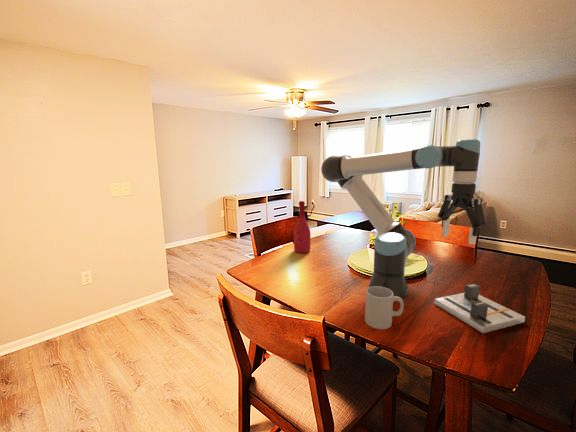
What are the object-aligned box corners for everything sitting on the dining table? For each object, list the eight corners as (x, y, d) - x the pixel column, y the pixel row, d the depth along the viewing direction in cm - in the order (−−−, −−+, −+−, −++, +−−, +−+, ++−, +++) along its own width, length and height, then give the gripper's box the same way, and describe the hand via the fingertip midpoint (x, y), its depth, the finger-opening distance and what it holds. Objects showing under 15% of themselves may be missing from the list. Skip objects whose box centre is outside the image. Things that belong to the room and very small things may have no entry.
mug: (367, 329, 89) (368, 297, 87) (362, 314, 97) (364, 285, 95) (406, 330, 88) (408, 298, 86) (398, 315, 96) (400, 286, 94)
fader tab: (470, 299, 102) (471, 287, 101) (464, 296, 104) (465, 284, 104) (478, 297, 103) (479, 286, 102) (472, 294, 106) (473, 283, 105)
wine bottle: (291, 249, 169) (290, 200, 163) (306, 247, 172) (306, 199, 166) (297, 254, 160) (296, 202, 154) (313, 252, 163) (313, 201, 156)
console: (482, 333, 86) (485, 313, 85) (434, 303, 104) (435, 286, 102) (524, 322, 91) (527, 303, 90) (471, 295, 109) (473, 279, 107)
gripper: (504, 184, 93) (495, 247, 98) (445, 180, 115) (440, 231, 120) (487, 186, 91) (479, 249, 95) (431, 181, 113) (426, 233, 117)
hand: (457, 239), depth 107 cm, fingers open, 11 cm apart
